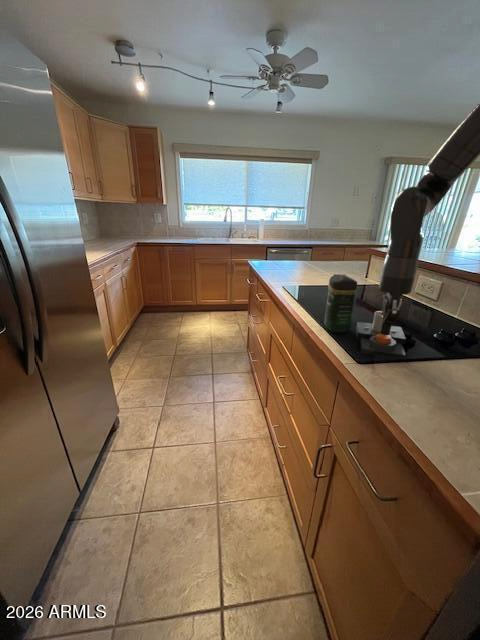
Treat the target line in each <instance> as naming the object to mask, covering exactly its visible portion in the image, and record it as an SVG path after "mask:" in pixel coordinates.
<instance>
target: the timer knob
mask: <svg viewBox="0 0 480 640" xmlns="http://www.w3.org/2000/svg"><path fill="white" fill-rule="evenodd" d="M372 324H373V325H372V330H374V331H376V332H379V333H381V332H380V330H381V325H382V310H376V311H374V316H373V321H372Z"/></svg>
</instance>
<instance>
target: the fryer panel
mask: <svg viewBox="0 0 480 640" xmlns="http://www.w3.org/2000/svg"><path fill="white" fill-rule="evenodd" d="M372 325H373V322H372V323H370V322H363V321H357V323H356V327H355V331H356V333H355V334H356V335H355V336H356V342H359V343H360V341H361V338H366V339H370V338H371V337H372V336H376V335H378V334H380V333H379V332H376V331H374V330H372ZM389 335H390V336H391V338H392V339H394V340H395V341H396V343H402V345H406V342H407V338H406V335H405V333H404V330H403V327H402V326H396V325H391V330H390V334H389Z"/></svg>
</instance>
